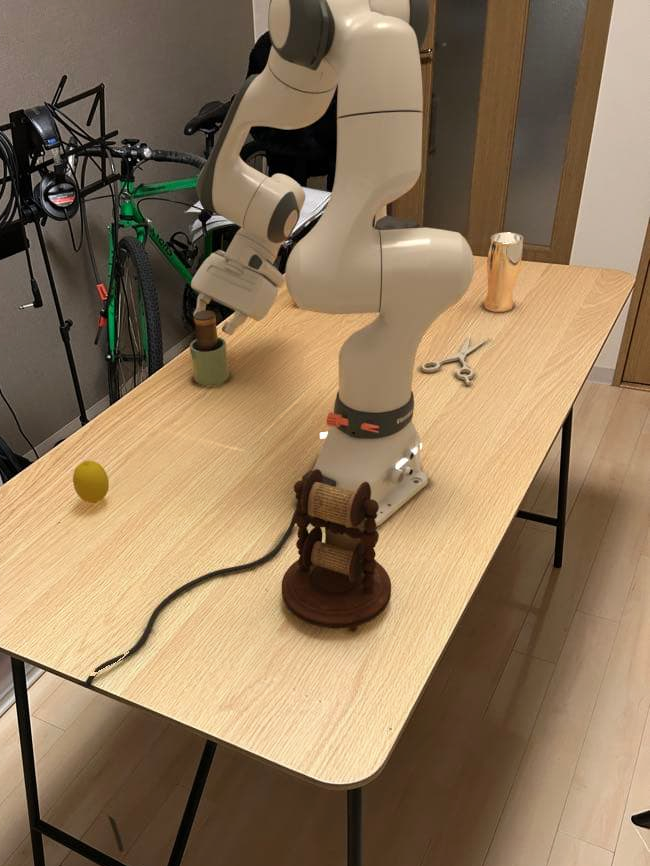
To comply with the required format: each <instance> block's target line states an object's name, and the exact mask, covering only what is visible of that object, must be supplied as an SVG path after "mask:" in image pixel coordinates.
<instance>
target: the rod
mask: <svg viewBox="0 0 650 866" xmlns="http://www.w3.org/2000/svg"><path fill="white" fill-rule="evenodd" d="M216 317H217V316H216V313H215V312H214V311H213V310H207V309H205V310H204V311H199V312H197V313H195V314H194V316H193V321H194V327H195V329H194V330H195V335H196V337H195V338H196V339H197V345H198V351H201V352H208V351H214V350H217V349H219V348H218V338H217V337H218V331H217V330H218V329H217V318H216Z"/></svg>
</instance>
